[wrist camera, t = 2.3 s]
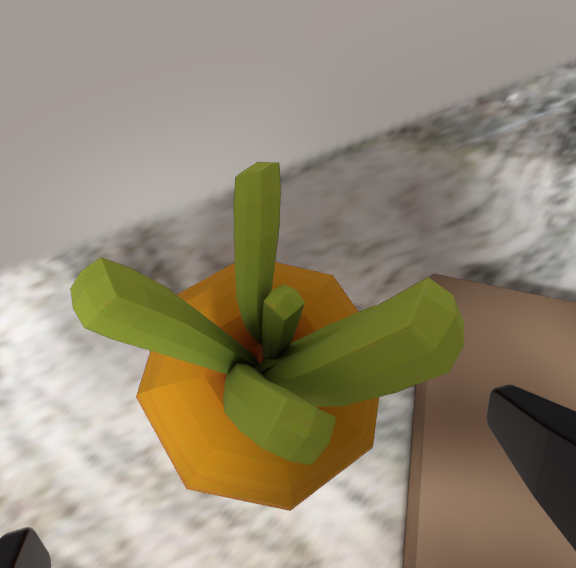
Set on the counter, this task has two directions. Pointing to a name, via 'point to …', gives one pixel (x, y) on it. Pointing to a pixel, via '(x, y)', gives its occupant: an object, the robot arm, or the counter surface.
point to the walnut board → (487, 436)
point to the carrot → (267, 358)
